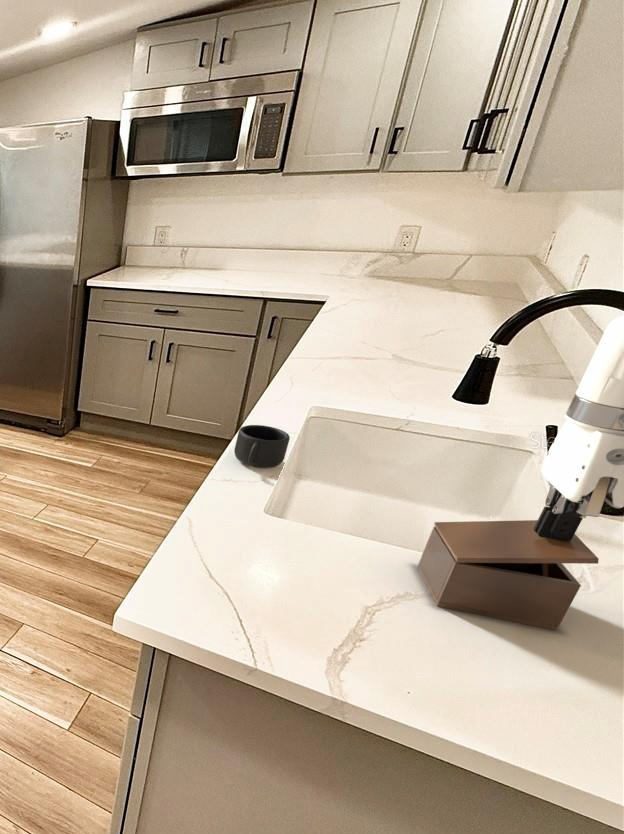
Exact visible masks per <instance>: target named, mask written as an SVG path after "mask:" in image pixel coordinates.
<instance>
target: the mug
mask: <svg viewBox="0 0 624 834" xmlns="http://www.w3.org/2000/svg"><path fill="white" fill-rule="evenodd" d="M290 438H291V437H290V435H289V434H288V433H287V432H286V431H284V430H282V429H279V428H277V427H273V426H268V425H261V424H249V425H244V426H241V427H240V428H239V429H238V432H237V437H236V441H235V445H234V451H233V452H234V456H235V458H236V459H237V461H239V462H241V463H243V464H244V465H247V466H249V467H253V468H258V469H267V468H269V469H271V468H275V467H278V466H279V465H281V464H282V463H283V462H284V460H285V458H286V455H287V450H288V447H289V443H290V440H291V439H290Z"/></svg>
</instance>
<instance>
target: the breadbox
mask: <svg viewBox="0 0 624 834" xmlns="http://www.w3.org/2000/svg"><path fill="white" fill-rule="evenodd" d="M416 568H417V570H418V573H419V574H420V576H421V578H422V580H423V582H424V583H425V586H426V587H427V589H428V592H429V593H430V595H431V597H432V599H433V602H434V603H435V605H436V606H437V607H440V608H446V609H449V610H454V611H461V612H464V613H469V614H474V615H479V616H483V617H484V616H485V617H489V618H494V619H498V620H503V621H508V622H512V623H513V622H514V623H518V624H524V625H528V626H533V627H537V628H541V629H542V628H543V629H549V630H553V631H558V629H559V627H560V625H561V623H562V621H563V619H564V617H565V616H566V614H567V612H568V610H569V608H570V606H571V605H572V603H573V601H574V599H575V597H576V596H577V594H578V593H579V590H580V588H581V586H582V585H581V584H580V582H579V581H578V580H577V579H576V578H575V577H574V576H573V574H572V573H571V572H570V571H569V570H568V569H567V567H566V566H565V565H564V563H457V562H456V560H455V559H454V557H453V555H452V554H451V552H450V551H449V549H448V547H447V546H446V544H445V543H444V541H443V539H442V538H441V536H440V534H439V533H438V531H437V530H436V528H435V526H433V527H432V530H431V532H430V535H429V537H428V540H427V542H426V545H425V547H424V549H423V552H422V554H421V557H420V559H419V561H418V564H417V567H416Z"/></svg>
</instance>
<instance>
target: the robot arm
mask: <svg viewBox="0 0 624 834" xmlns="http://www.w3.org/2000/svg"><path fill="white" fill-rule="evenodd" d="M563 418H564V419H565V420H566V421H565V422H564V423H563V425H562V427H560V430H559V432H558V433H557V435H556V437H555V438H554V440H553V442H552V443H551V446H550V448H548V449H549V450H548V451H547V453H546V455H545V457H544V459H543V463H542V465H541V469H540V470H541V474H542V476H543V477H544V478H545V479H546V481H547V484H548V486H549V490H548V493H547V495H546V498H545V500H544V504H545V506H544V507H543V509H542V511H541V512H540V514H539V517H538V518H537V520H538V521H537V523H536V525H535V527H534V531H535V532H536V533H537V534H538V535H539V536H540V537H544V538H550V539H556V540H562V541H570V540H572V538H573V536H574V534H575V535H576V532H577V530H578V529H579V527H580V524H581V523H582V521H583V519H586V518H587V517H593V518H598V517H599V516H600V515H601V511H602V508H603V505H604V503H607V505H608V506H610V507H612V508H614V509H621V508H623V507H624V315H621V316H618V317H616V318H614V319H613V320H612V321H610V322H609V324H608V325H607V327H606V328H605V330H604V332H603V334H602V336H601V339H600V341H599V343H598V345H597V347H596V349H595V352H594V353H593V355H592V357H591V360H590V361H589V364H588V366H587V368H586V370H585V372H584V374H583V376H582V378H581V381H580V383H579V385H578V387H577V389H576V391H575V393H574V395H573V397H572V399H571V401H570V404H569V406H568V408H567V410H566V412H565V413H564V416H563Z"/></svg>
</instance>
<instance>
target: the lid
mask: <svg viewBox="0 0 624 834" xmlns="http://www.w3.org/2000/svg"><path fill="white" fill-rule="evenodd" d="M537 521H538V519H536V520H535V519H534V520H533V519H530V520H529V519H528V520H527V519H526V520H480V521H478V520H477V521H475V520H473V521H434V527H435V528H436V530H437V531H438V533H439V534H440V536H441V538H442V539H443V541H444V543H445V544H446V546H447V547H448V549H449V551H450V552H451V554H452V555H453V557H454V559H455V560H456V562H457V563H562V564H585V565H586V564H587V565H590V564H593V565H594V564H597V565H598V564H599V557H597V555H596V554H595V553H594V551H592V550H591V549H590V548H589V547H588V546H587V545H586V543H584V541H582V540H581V539H580V537H578V536H577V535H576V533H575V534H574V536H573V538H572V540H570V541H562V540H556V539H550V538H544V537H540V536H539V535H538V534H537V533H536V532H535V531H534V527H535V525H536V523H537Z"/></svg>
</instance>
